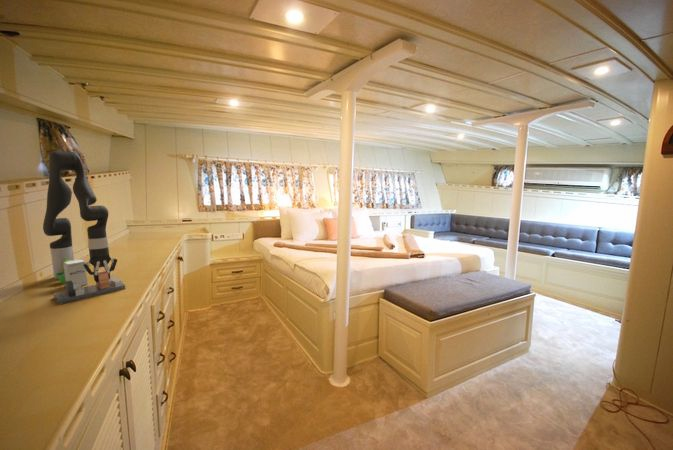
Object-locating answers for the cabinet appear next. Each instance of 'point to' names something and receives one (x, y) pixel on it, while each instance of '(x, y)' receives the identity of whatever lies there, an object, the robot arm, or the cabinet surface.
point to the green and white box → (62, 274)
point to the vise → (90, 291)
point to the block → (103, 279)
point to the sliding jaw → (73, 288)
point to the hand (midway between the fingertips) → (102, 280)
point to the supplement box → (75, 272)
